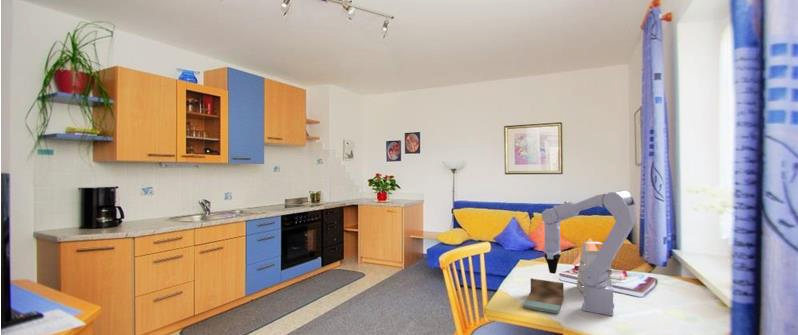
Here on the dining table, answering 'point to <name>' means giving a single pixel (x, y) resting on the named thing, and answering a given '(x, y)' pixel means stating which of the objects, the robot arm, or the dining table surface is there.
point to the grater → (587, 259)
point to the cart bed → (546, 292)
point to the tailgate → (541, 306)
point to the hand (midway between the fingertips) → (552, 272)
